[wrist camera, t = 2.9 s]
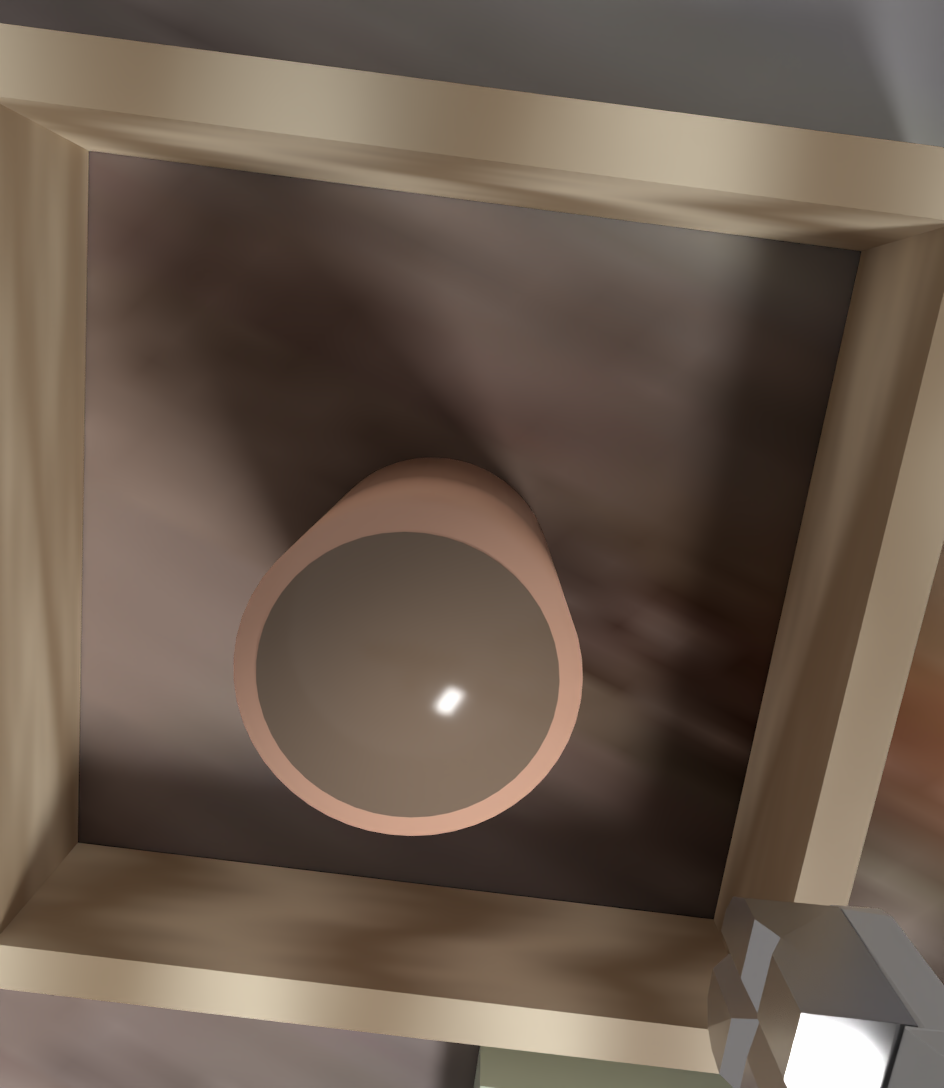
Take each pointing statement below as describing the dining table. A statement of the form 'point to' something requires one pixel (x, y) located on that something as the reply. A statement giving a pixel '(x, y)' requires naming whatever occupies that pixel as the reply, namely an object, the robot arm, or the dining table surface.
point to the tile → (579, 1072)
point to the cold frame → (804, 629)
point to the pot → (412, 654)
